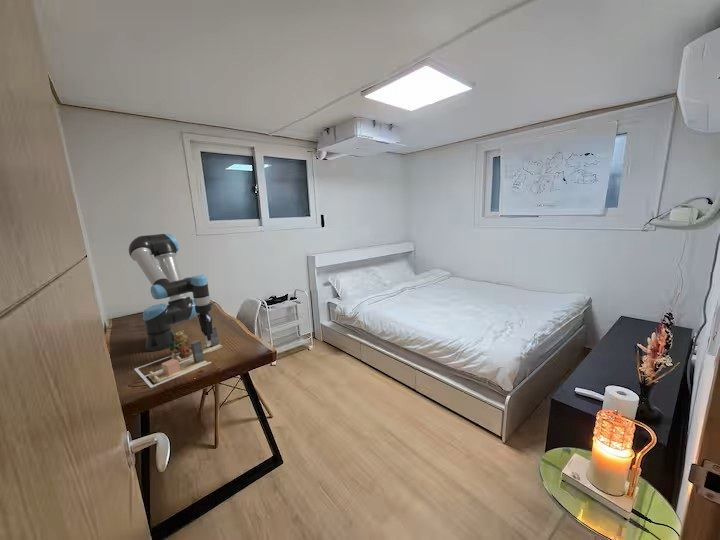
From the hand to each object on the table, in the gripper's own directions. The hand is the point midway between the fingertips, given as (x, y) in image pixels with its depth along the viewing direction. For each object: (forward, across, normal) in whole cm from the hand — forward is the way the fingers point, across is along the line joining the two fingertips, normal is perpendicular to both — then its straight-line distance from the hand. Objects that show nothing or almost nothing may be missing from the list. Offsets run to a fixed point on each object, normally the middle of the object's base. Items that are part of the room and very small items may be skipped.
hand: (209, 345), depth 159 cm
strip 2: (+2, 0, -6) cm, 7 cm away
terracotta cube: (+1, +13, -22) cm, 26 cm away
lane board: (+2, +6, -19) cm, 20 cm away
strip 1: (+2, +13, -19) cm, 23 cm away
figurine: (+2, 0, -13) cm, 14 cm away
